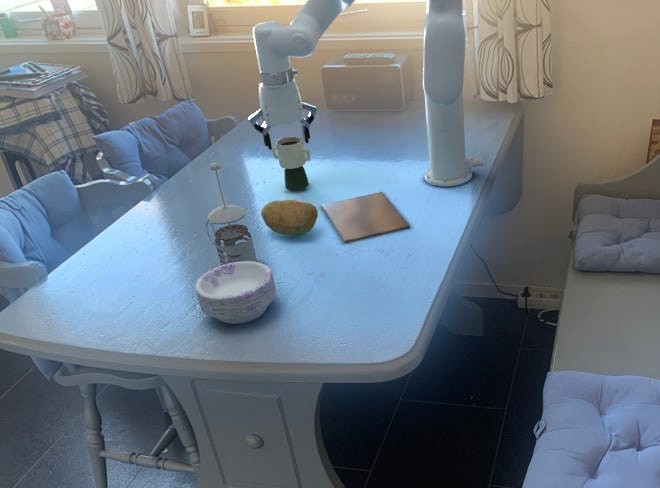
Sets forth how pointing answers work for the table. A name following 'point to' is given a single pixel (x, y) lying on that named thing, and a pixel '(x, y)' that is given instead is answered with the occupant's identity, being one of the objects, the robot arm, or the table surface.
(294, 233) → the potato
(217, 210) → the french press
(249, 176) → the table surface
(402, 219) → the placemat
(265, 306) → the paper bowls
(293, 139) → the character mug
